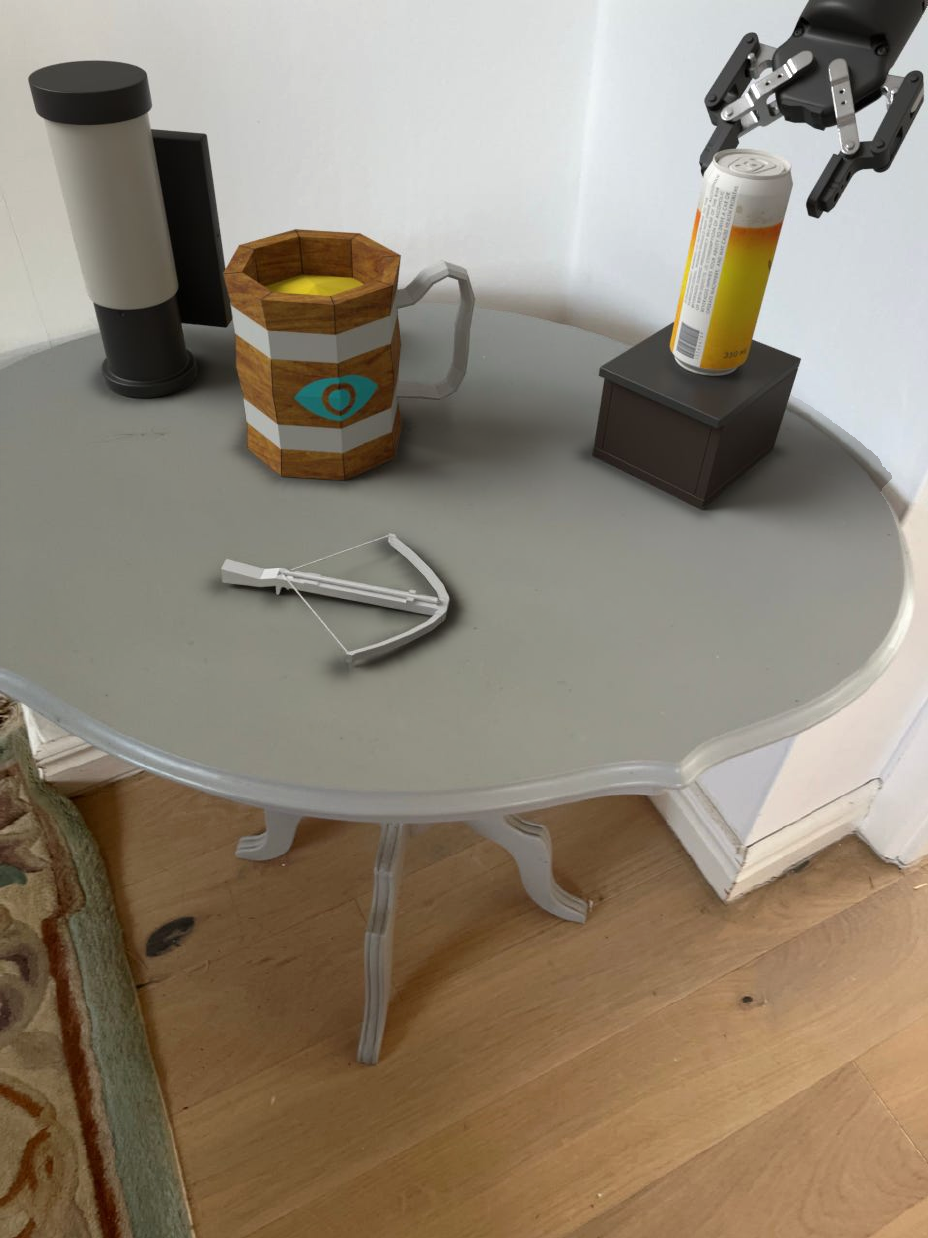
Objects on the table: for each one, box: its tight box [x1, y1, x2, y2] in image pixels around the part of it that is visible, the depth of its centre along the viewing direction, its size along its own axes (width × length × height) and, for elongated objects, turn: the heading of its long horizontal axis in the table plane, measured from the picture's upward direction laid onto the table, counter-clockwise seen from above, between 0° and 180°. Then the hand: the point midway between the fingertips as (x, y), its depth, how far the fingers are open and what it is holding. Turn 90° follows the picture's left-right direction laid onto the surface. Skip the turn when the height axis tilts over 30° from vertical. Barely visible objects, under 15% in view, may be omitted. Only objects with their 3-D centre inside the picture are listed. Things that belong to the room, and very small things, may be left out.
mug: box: [223, 228, 476, 481], centre depth 78 cm, size 20×14×15 cm
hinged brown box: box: [592, 367, 799, 510], centre depth 79 cm, size 12×11×8 cm
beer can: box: [670, 148, 794, 376], centre depth 71 cm, size 6×6×15 cm
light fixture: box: [27, 59, 233, 399], centre depth 81 cm, size 12×11×25 cm
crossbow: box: [220, 533, 450, 664], centre depth 67 cm, size 16×13×2 cm
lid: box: [598, 320, 802, 429], centre depth 76 cm, size 13×11×1 cm
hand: (757, 194), depth 69 cm, fingers open, 8 cm apart
